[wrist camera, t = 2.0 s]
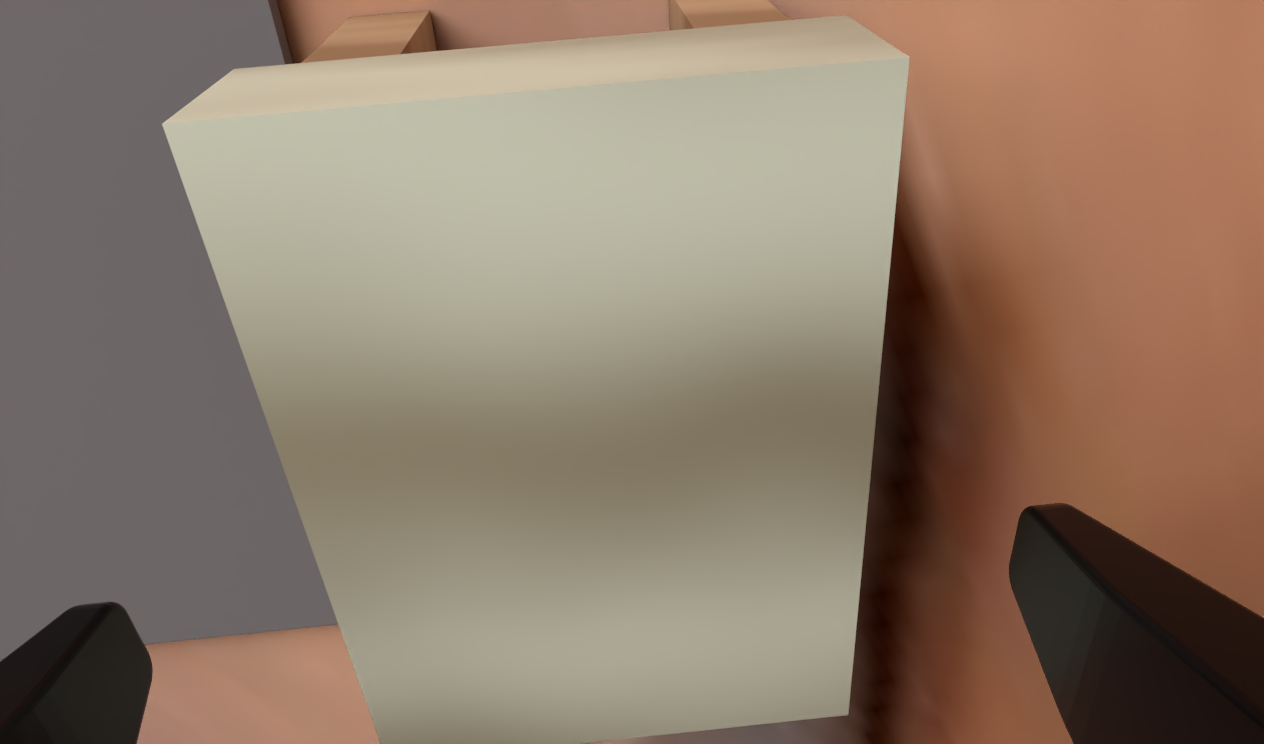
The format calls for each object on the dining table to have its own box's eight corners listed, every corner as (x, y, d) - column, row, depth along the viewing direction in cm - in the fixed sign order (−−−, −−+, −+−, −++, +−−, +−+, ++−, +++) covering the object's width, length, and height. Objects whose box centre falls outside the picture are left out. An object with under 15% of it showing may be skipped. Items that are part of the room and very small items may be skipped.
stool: (759, 442, 18) (848, 714, 13) (439, 474, 18) (387, 764, 12) (762, -40, 13) (909, 57, 8) (327, -4, 13) (161, 123, 8)
